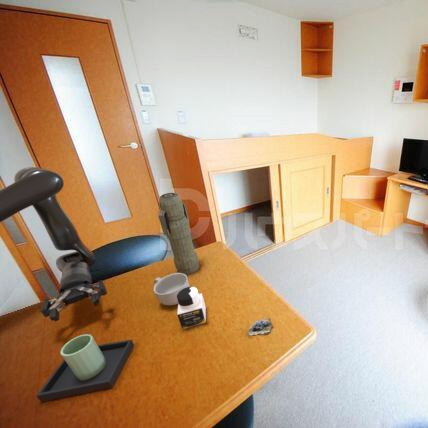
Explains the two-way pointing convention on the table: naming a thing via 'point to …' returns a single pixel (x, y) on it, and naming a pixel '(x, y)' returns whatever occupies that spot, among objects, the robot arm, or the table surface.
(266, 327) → the blueberries
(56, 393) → the tray
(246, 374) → the table surface
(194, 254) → the thermos
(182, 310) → the medicine bottle
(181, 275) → the teacup
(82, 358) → the celadon cup
